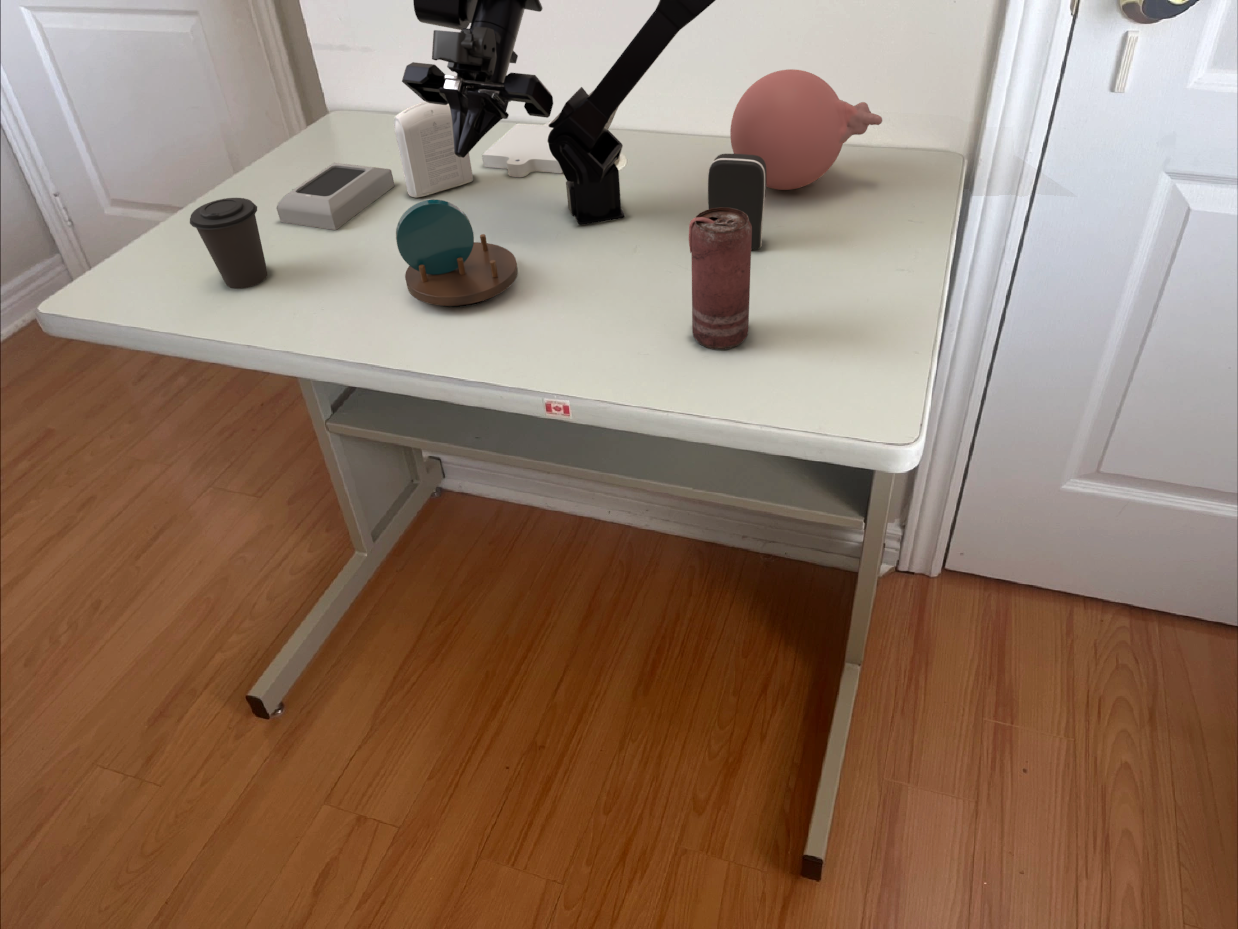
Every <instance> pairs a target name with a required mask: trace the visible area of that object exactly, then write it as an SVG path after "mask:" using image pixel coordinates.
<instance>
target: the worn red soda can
mask: <svg viewBox="0 0 1238 929" xmlns="http://www.w3.org/2000/svg"><path fill="white" fill-rule="evenodd" d="M751 240H752V225H751V223H750V221H749V218H748V216H747V214H745V213H744V212H743V211H740V210H738V209H733V208H723V207H720V208H712V209H708V208H707V209H705V210H702V211H700V212H699V213H697V215H695V217H693V218H692V219H691V220H690V222H689V224H688V245H689V247H688V248H689V253H690V254H691V319H692V320H691V330H692V331H691V332H692V336H693V338H694V339H695V341H696V342H697V343H698V344H699V345H700V346H703V347H704V348H707V349H711V350H719V351H720V350H721V351H722V350H730V349H733V348H737V347H738V346H740V345H741V344H742V343H743V342H744V341H745V339H747V337H748V335H749V323H750V293H751V269H752V268H751V265H752V249H751Z"/></svg>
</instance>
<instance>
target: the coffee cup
mask: <svg viewBox="0 0 1238 929" xmlns="http://www.w3.org/2000/svg"><path fill="white" fill-rule="evenodd" d="M257 211H258V206H257V205H256V204H255V203H254V202H253V200H250V199H248V198H244V197H227V198H220V199H216V200H212V201H210V202H207V203H204V204H202V205H200V206H199V207H197V208H196V209H195V210H193V211H192V213H191V214H190V218H189V224H190V226H192V227H193V228H195V229H196V231H197V232H198V235H199V237H200V238H201V240H202V242H203V244H204V245H205V248H206V249H207V251H208V253H209V255H210V257H211V260H212V261H213V263H214V264H215V267H216V269H217V271H218V272H219V274H220V276H221V278H222V280H223V283H224V284H225V285H226V286H227V287H228V288H230V289H237V290H238V289H239V290H240V289H248V288H251V287H255V286H257V285H259V284H261V283H263V282H264V281H265V280H266V279H267V277H268V276H269V272H268V268H267V264H266V260H265V259H266V258H265V254H264V249H263V245H262V240H261V236H260V231H259V225H258V221H257V217H256V213H257Z"/></svg>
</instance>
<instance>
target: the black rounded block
mask: <svg viewBox="0 0 1238 929" xmlns="http://www.w3.org/2000/svg"><path fill="white" fill-rule="evenodd" d="M766 179H767V169H766V164H765V161H764V160H763V159H762V158H761V157H759V156H756V155H748V154H734V153H721V154H719V155H717V156H716V157H715V158H714V159H713V161H712V162H711V163H710V166H709V168H708V173H707V206H708V208H707V210H708V209H712V208H720V207H723V208H733V209H738V210H740V211H743V212H744V213H745V214H747V216H748V218H749V221H750V223H751V225H752V240H751V250H760V249H761V247H762V245H763V221H764V220H763V219H764V211H765V210H764V209H765V202H766V201H765V200H766V196H767V187H766Z"/></svg>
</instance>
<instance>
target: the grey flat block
mask: <svg viewBox="0 0 1238 929" xmlns="http://www.w3.org/2000/svg"><path fill="white" fill-rule="evenodd" d="M395 185H396V184H395V180H394V176H393V171H392V169H391V168H384V167H376V166H366V165H361V164H360V165H359V164H350V163H342V162H332V163H331V164H329V165H328V166H327V167H325V168H324V169H322V170H321V171H319V172H317V173H316V174H314V175H313V176H312V177H310V178H308V179H307V180H305V181H304V182H302V183H301V184H299V185H298V186H296V187H294V189H292V190H290V191H289V192H287V193H285V195H284V196H283V197H282V198H281V199H279V201H278V202H277V204H276V208H275V209H276V211H277V215H278V218H279V221H280V223H284V224H291V225H292V224H293V225H298V226H299V225H300V226H305V227H313V228H320V229H326V230H333V231H337V230H338V229H339V228H341V227H342V226H343V225H345V224H346V223H347V222H349V221H350V220H351V219H353V218H354V217H355V216H357V215H358V214H359V213H361V212H362V211H364V210H365V209H366V208H368V207H369V206H370V205H371V204H373V203H374V202H375V201H376V200H378V199H379V198H381V197H382V196H384V195H385V194H386V193H388V192H389V191H390V190H391V189H392V188H394V187H395Z"/></svg>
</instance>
